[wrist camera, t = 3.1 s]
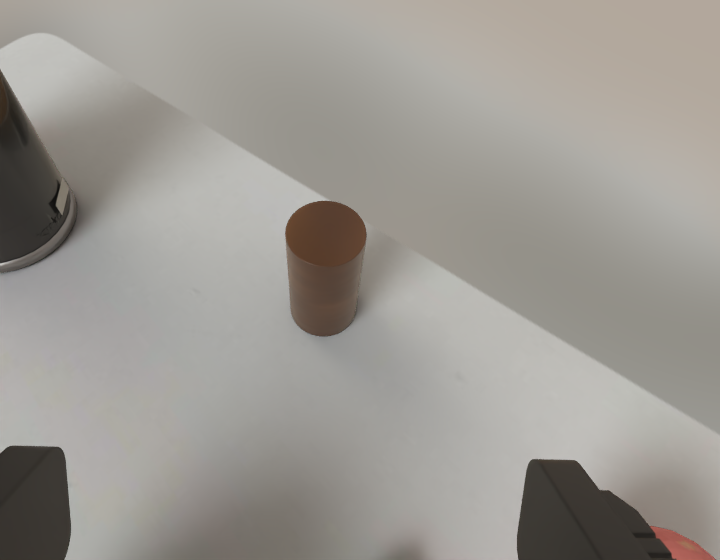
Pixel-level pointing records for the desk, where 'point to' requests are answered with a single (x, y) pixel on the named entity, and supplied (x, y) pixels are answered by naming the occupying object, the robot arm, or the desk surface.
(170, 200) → the desk surface
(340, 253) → the post
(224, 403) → the desk surface
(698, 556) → the apple
